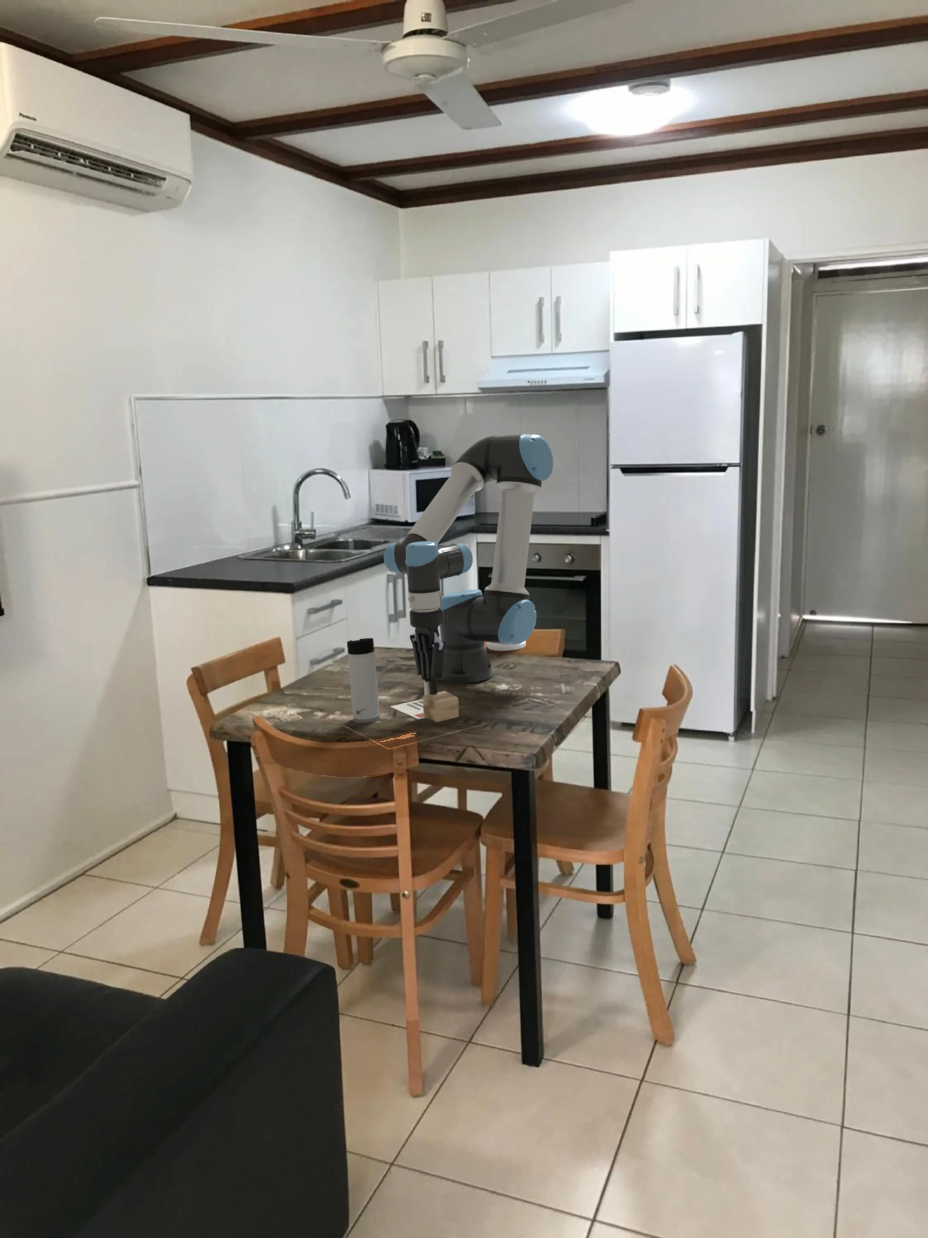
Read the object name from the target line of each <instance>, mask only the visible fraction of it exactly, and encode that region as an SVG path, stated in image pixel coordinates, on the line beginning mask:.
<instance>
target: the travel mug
mask: <svg viewBox="0 0 928 1238" xmlns="http://www.w3.org/2000/svg"><path fill="white" fill-rule="evenodd" d="M374 642H375V641H374V638H372V637H366V638H365V637H364V638H363V637H362V638H359V639H356V640H352V639H351V640H348V641H346V646H347V661H348V663H347V664H348V673H349V685H350V686H349V687H350V695H351V696H350V697H351V707H352V718H353V719H352V720H353V722H354V723H359V724H369V723H374V722H376V721H378V720H380V718H381V714H380V702H379V693H378V692H379V690H378V678H377V677H378V676H377V665H376V664H377V663H376V654H375V644H374Z"/></svg>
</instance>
